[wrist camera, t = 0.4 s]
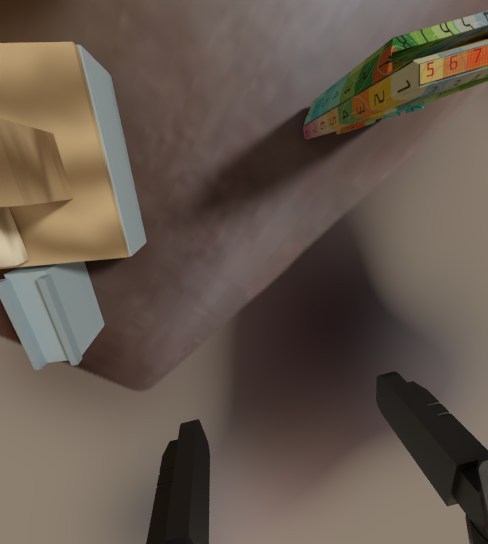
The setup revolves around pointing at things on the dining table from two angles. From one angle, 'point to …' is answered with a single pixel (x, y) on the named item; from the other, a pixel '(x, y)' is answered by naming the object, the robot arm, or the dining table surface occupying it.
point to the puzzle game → (404, 76)
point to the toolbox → (74, 276)
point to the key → (10, 241)
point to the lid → (54, 158)
